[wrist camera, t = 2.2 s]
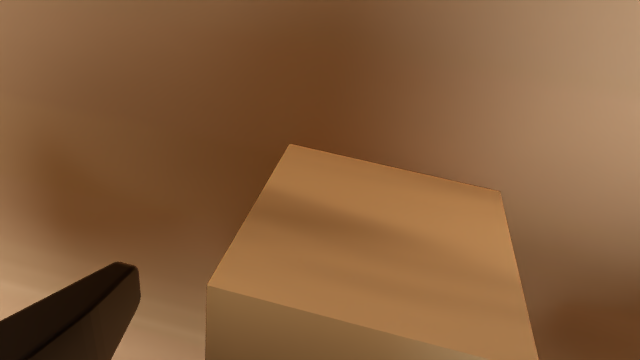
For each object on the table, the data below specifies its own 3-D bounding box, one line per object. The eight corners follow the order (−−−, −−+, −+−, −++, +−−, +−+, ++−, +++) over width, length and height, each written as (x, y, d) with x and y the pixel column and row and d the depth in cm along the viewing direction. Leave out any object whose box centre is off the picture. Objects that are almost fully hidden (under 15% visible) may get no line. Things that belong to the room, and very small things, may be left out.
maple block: (439, 332, 12) (442, 529, 8) (272, 289, 13) (203, 456, 9) (499, 189, 10) (541, 373, 6) (290, 141, 10) (206, 285, 6)
